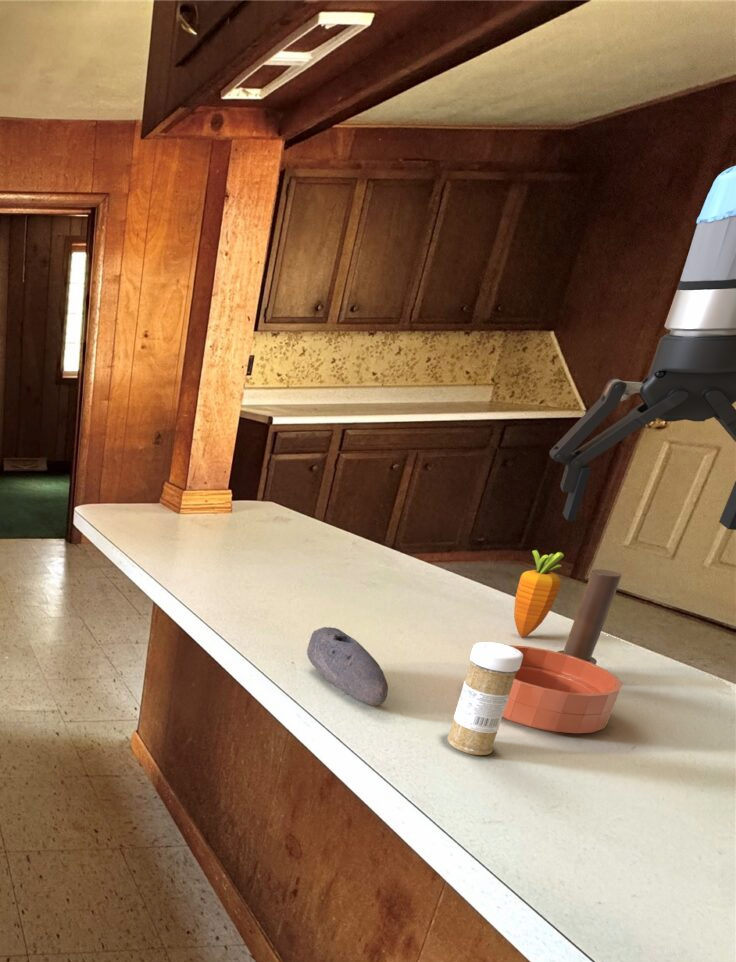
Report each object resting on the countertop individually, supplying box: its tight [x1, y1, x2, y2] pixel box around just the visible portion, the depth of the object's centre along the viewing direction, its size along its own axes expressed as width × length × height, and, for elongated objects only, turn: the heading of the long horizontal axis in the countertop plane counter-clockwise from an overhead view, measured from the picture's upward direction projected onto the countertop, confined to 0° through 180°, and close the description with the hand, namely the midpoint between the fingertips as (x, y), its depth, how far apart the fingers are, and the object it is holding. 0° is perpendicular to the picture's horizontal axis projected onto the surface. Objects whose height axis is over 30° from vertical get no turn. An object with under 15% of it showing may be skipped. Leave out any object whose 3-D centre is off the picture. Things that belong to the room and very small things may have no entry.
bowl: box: [502, 644, 623, 734], centre depth 88 cm, size 14×14×6 cm
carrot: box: [513, 549, 565, 638], centre depth 106 cm, size 5×5×15 cm
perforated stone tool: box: [306, 626, 389, 707], centre depth 94 cm, size 15×5×7 cm, turn 1°
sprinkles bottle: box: [446, 641, 523, 756], centre depth 79 cm, size 5×5×14 cm
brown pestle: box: [556, 568, 623, 665], centre depth 94 cm, size 4×4×16 cm
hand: (644, 521), depth 79 cm, fingers open, 13 cm apart
